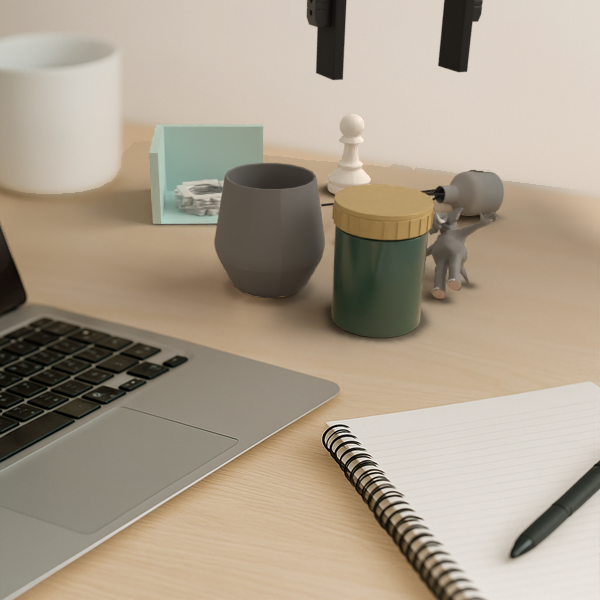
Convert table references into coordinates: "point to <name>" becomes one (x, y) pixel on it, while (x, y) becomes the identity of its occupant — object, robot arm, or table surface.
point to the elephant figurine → (451, 249)
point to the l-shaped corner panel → (197, 167)
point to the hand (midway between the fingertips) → (392, 72)
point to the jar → (377, 284)
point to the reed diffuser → (470, 193)
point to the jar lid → (383, 211)
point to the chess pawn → (349, 156)
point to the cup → (270, 228)
